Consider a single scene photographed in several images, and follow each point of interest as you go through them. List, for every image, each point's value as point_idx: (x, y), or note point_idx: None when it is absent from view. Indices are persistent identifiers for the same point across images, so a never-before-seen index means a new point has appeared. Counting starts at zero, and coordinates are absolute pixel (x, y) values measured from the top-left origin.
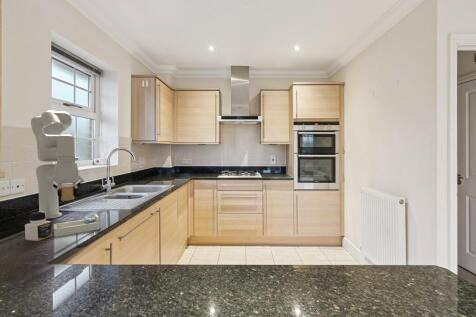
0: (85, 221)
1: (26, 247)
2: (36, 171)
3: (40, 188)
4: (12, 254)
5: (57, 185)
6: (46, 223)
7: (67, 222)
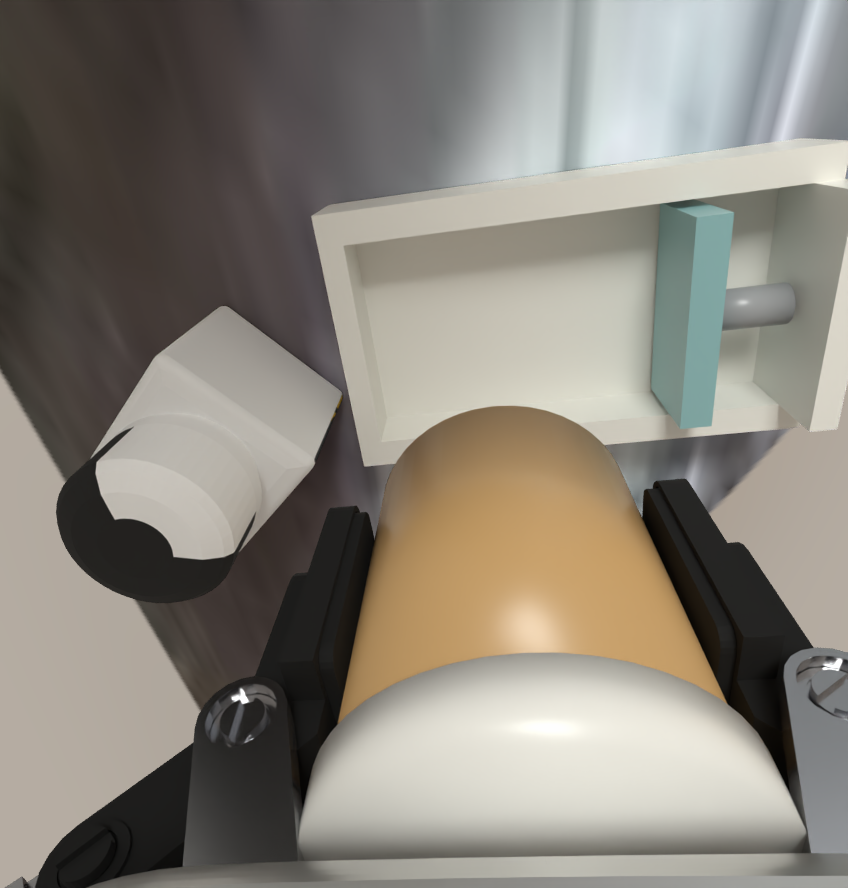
0: (673, 314)
1: (236, 582)
2: None
3: None
4: (203, 657)
5: (200, 839)
6: (282, 502)
7: (469, 224)
